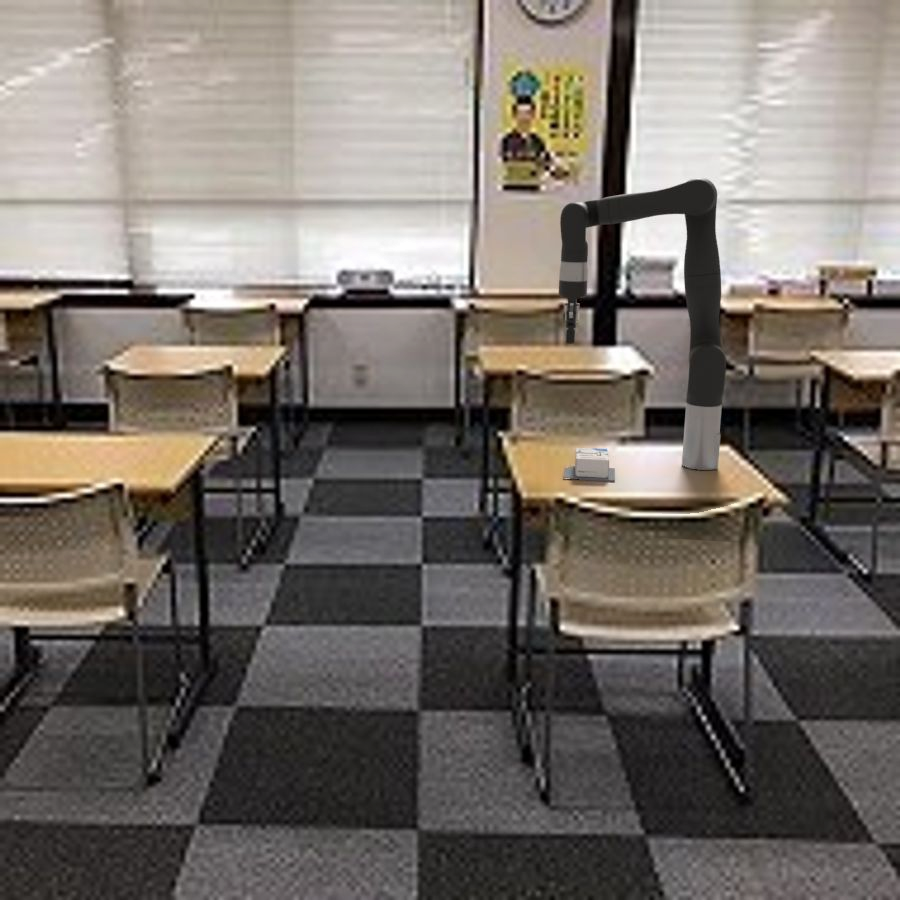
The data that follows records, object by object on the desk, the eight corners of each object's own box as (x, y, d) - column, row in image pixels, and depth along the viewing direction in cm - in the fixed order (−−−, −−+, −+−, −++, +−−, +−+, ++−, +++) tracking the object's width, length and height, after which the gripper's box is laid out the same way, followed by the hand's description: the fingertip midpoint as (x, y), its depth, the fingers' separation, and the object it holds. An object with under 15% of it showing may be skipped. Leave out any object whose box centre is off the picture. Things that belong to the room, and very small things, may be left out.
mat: (614, 470, 276) (614, 468, 276) (614, 482, 265) (614, 480, 265) (565, 467, 278) (565, 465, 278) (563, 479, 267) (563, 477, 267)
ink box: (607, 448, 277) (610, 459, 265) (606, 466, 278) (609, 478, 266) (575, 447, 277) (576, 458, 266) (574, 465, 279) (575, 476, 267)
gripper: (587, 281, 273) (583, 347, 277) (587, 277, 285) (584, 340, 290) (558, 280, 274) (555, 346, 278) (560, 276, 286) (557, 339, 291)
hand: (570, 343), depth 284 cm, fingers closed
